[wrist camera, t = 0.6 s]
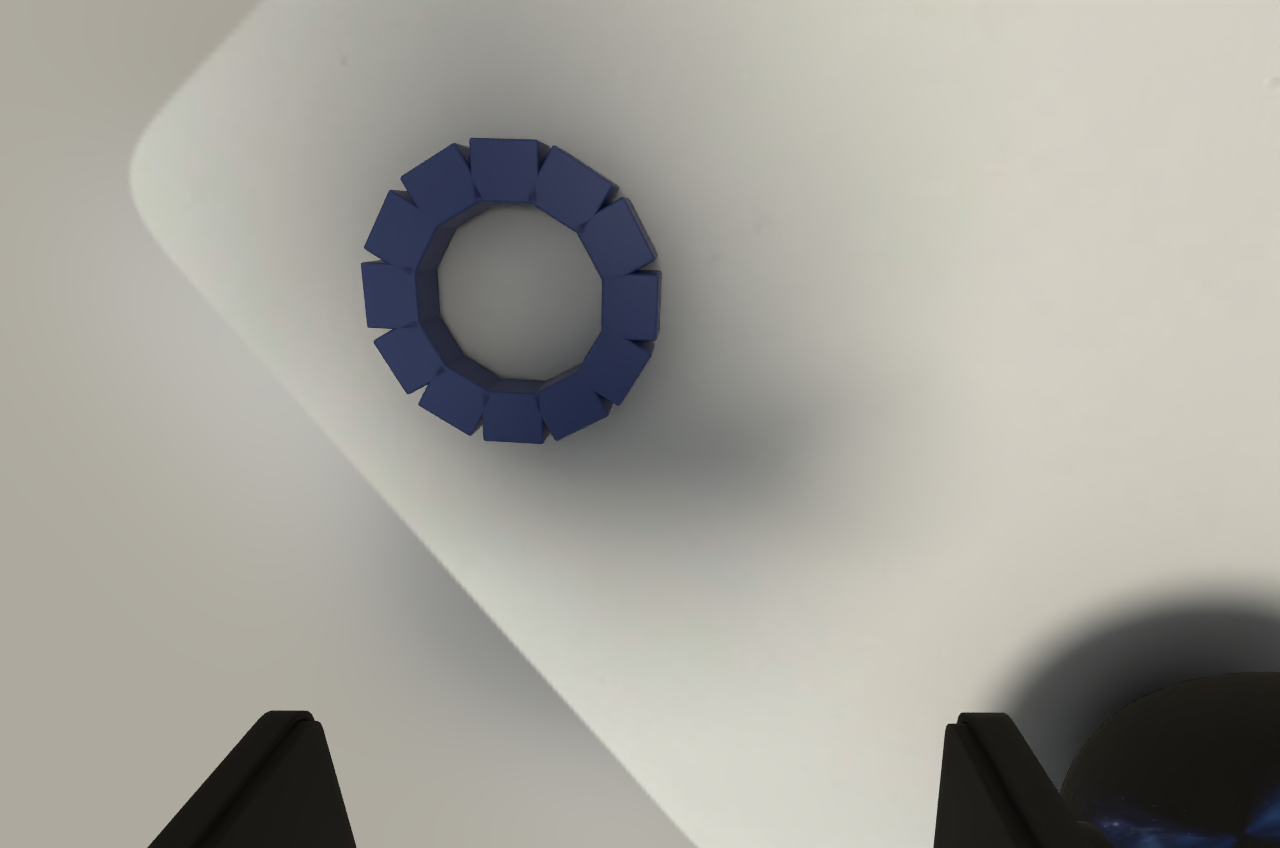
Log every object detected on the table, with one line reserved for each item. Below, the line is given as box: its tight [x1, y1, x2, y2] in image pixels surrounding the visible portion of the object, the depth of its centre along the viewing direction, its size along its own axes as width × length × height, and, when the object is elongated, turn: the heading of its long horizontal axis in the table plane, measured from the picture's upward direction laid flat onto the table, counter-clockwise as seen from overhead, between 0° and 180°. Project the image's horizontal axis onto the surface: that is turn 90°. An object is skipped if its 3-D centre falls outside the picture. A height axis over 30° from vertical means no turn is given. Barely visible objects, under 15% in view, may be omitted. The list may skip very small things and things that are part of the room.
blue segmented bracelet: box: [361, 138, 662, 444], centre depth 21 cm, size 10×10×2 cm
